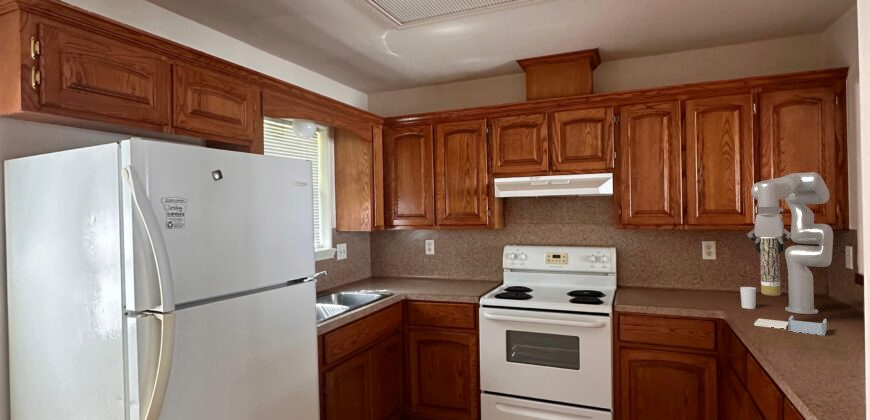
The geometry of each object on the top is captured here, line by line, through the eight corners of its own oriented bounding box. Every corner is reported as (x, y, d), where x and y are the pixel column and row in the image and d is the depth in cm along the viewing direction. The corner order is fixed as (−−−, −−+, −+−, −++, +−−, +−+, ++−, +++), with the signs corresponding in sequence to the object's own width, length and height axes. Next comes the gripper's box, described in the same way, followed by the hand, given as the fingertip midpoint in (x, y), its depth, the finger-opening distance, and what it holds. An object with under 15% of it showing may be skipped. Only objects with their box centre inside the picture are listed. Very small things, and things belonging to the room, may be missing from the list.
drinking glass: (759, 309, 237) (758, 288, 237) (744, 308, 238) (743, 288, 238) (752, 306, 244) (752, 286, 244) (738, 306, 245) (737, 286, 245)
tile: (758, 320, 213) (758, 318, 213) (789, 324, 206) (789, 321, 206) (754, 325, 205) (754, 323, 205) (785, 329, 198) (785, 326, 198)
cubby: (791, 326, 203) (791, 315, 203) (826, 330, 195) (826, 319, 195) (788, 331, 195) (788, 320, 195) (825, 335, 187) (824, 324, 187)
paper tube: (757, 294, 208) (755, 236, 208) (768, 292, 210) (766, 236, 210) (773, 296, 201) (771, 237, 201) (784, 295, 204) (782, 236, 204)
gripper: (794, 210, 203) (795, 252, 203) (746, 211, 214) (747, 251, 214) (792, 211, 197) (793, 254, 197) (743, 211, 209) (744, 252, 209)
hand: (769, 252), depth 206 cm, fingers closed on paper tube, 6 cm apart
